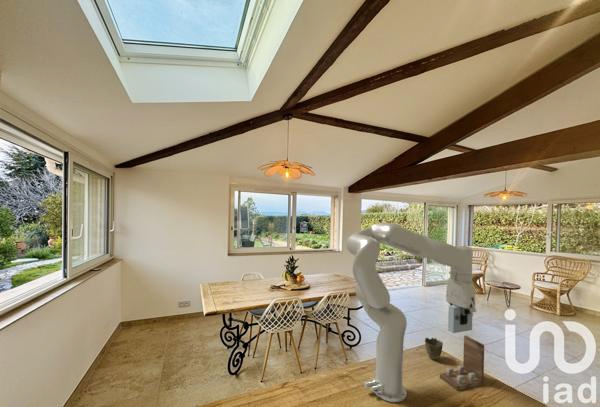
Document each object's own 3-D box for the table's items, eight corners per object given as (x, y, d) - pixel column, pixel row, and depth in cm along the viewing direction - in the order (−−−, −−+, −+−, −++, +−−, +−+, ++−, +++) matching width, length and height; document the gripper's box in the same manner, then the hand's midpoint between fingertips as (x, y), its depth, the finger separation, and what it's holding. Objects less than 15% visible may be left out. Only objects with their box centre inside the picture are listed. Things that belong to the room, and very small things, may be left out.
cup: (438, 354, 126) (438, 337, 126) (445, 363, 119) (445, 345, 119) (422, 353, 127) (422, 336, 127) (427, 362, 119) (428, 344, 119)
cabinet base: (456, 390, 101) (457, 349, 101) (439, 377, 109) (440, 339, 109) (484, 384, 105) (484, 344, 106) (465, 372, 113) (466, 335, 113)
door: (455, 334, 104) (455, 308, 104) (448, 330, 107) (448, 305, 107) (473, 330, 107) (474, 306, 107) (466, 327, 110) (467, 303, 110)
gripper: (437, 272, 114) (437, 315, 114) (472, 283, 99) (472, 332, 99) (451, 271, 117) (450, 313, 116) (487, 281, 101) (486, 330, 101)
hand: (460, 322), depth 108 cm, fingers closed on door, 2 cm apart
